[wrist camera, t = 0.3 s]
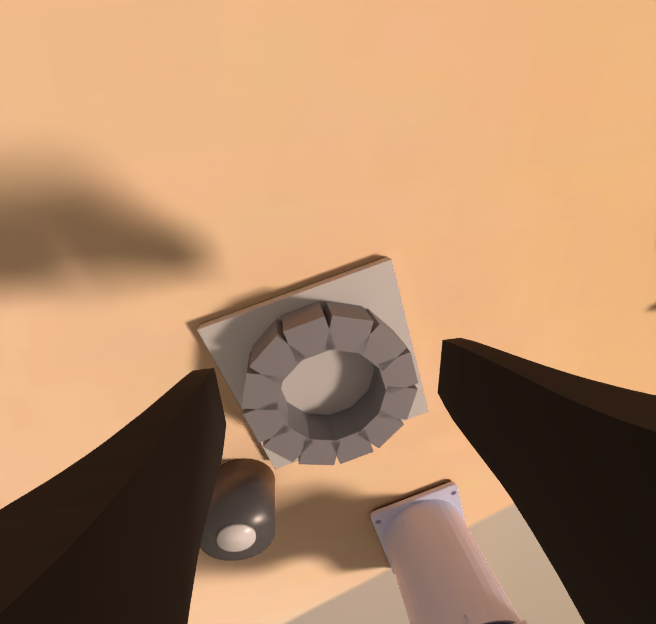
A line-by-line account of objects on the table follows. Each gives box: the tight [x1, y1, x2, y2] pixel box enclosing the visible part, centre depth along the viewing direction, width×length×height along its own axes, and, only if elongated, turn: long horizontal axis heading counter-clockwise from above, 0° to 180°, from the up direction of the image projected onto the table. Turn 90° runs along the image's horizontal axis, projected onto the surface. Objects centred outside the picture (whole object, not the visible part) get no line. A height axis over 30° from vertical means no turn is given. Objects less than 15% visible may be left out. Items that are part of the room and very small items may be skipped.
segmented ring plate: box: [197, 257, 429, 469], centre depth 19 cm, size 12×12×3 cm
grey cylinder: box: [200, 459, 275, 560], centre depth 22 cm, size 5×5×4 cm
